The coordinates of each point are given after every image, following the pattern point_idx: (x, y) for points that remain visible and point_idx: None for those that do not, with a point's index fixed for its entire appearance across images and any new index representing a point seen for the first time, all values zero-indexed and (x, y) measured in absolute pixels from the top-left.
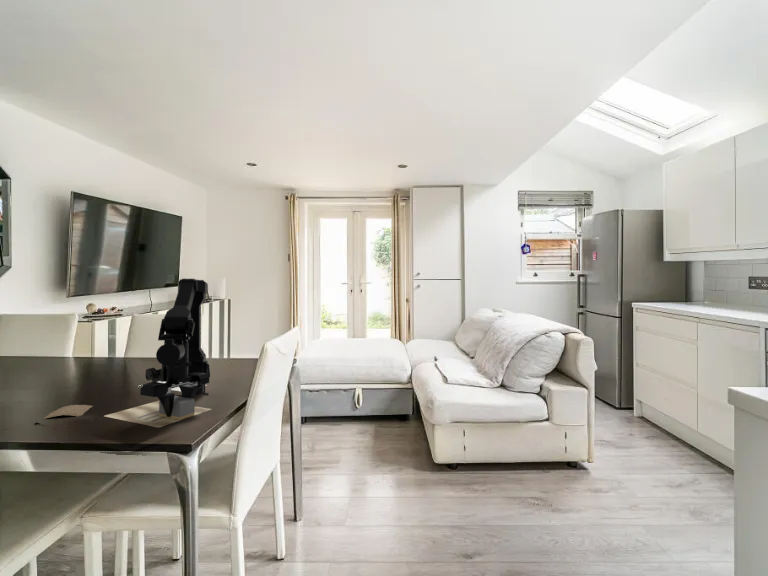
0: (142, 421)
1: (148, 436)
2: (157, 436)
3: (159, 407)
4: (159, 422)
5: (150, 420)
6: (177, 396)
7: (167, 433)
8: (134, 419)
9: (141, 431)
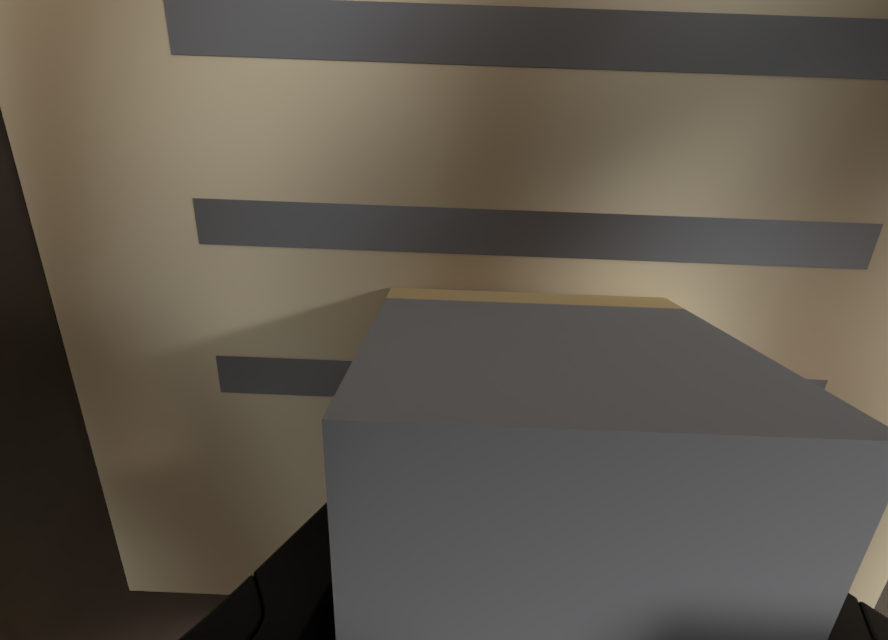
0: (121, 271)
1: (49, 554)
2: (100, 608)
3: (367, 342)
4: (229, 484)
5: (210, 333)
6: (840, 574)
7: (190, 622)
8: (91, 58)
9: (67, 400)
